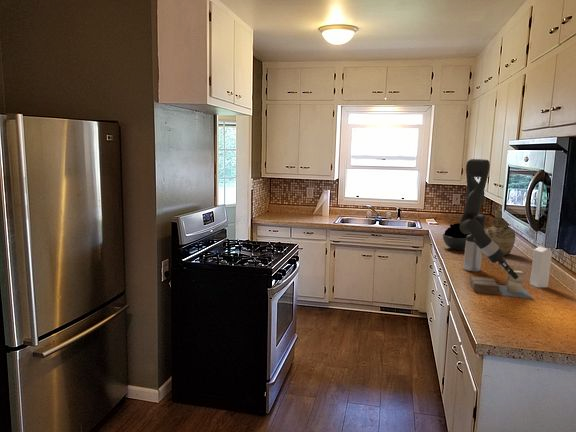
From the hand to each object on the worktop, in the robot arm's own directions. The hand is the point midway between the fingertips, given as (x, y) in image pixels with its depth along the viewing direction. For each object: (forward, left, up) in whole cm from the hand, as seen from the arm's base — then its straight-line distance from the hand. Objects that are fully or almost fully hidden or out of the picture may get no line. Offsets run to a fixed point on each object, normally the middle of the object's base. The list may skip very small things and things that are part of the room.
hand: (514, 275), depth 218 cm
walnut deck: (0, -14, -8) cm, 16 cm away
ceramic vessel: (-94, +11, -8) cm, 95 cm away
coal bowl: (-96, -16, -8) cm, 97 cm away
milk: (-17, +16, -8) cm, 25 cm away
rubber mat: (0, 0, -8) cm, 8 cm away
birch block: (0, 0, -8) cm, 8 cm away
